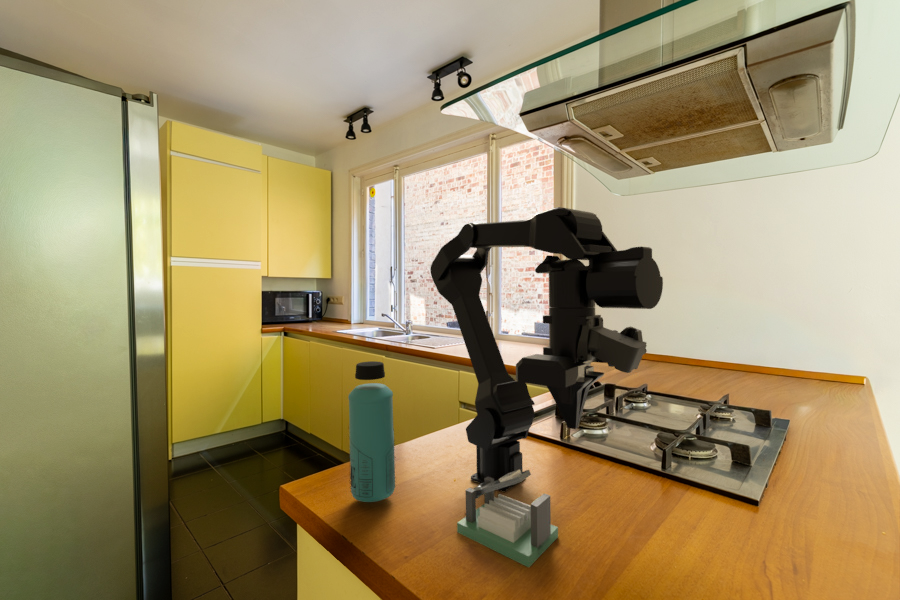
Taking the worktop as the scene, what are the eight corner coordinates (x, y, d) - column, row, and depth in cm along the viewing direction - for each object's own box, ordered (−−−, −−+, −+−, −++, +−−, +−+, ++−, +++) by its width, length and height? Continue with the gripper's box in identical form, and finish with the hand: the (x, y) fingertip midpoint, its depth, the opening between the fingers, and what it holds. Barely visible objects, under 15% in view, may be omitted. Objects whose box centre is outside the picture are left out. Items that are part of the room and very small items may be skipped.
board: (457, 532, 49) (456, 485, 49) (489, 508, 55) (489, 466, 55) (528, 567, 43) (528, 514, 43) (558, 537, 48) (557, 489, 48)
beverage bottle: (405, 501, 57) (403, 361, 57) (365, 520, 52) (362, 368, 52) (379, 485, 62) (377, 356, 61) (340, 502, 57) (337, 362, 57)
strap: (473, 499, 51) (469, 489, 51) (484, 492, 52) (480, 482, 53) (521, 484, 46) (516, 473, 46) (532, 477, 48) (527, 466, 48)
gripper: (610, 311, 39) (611, 470, 39) (658, 305, 53) (659, 422, 54) (512, 310, 46) (514, 443, 47) (577, 305, 61) (578, 407, 61)
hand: (572, 428), depth 52 cm, fingers closed
